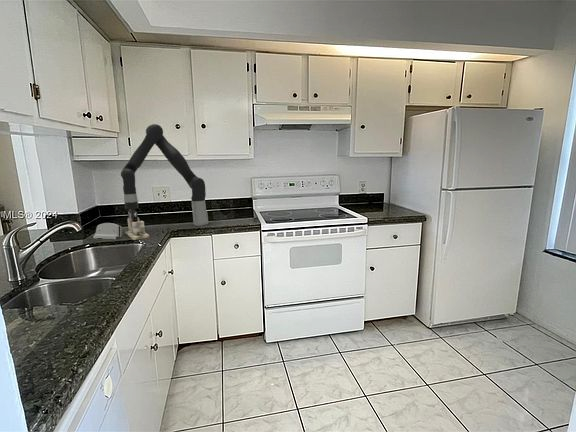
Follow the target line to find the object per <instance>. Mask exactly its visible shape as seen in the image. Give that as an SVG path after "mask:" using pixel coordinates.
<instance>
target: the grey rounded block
mask: <svg viewBox="0 0 576 432" xmlns="http://www.w3.org/2000/svg"><path fill="white" fill-rule="evenodd" d="M122 228H123V227H122V226H121V225H119V224H117V223H111V222H103V223H99V224H98V225H96V228H95V234H94V235H93V237H92V238H93V239H97V238H102V239H101V240H116V239H117V238H122Z"/></svg>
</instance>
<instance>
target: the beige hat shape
mask: <svg viewBox="0 0 576 432" xmlns="http://www.w3.org/2000/svg"><path fill="white" fill-rule="evenodd" d="M132 229H133V231H132V232H130V231H129V230H128V231H125V233H124V234H125V235H126V236H128V237H129V238H131V240H133V241H135V240H140V239H142V240H143V239H147V238H150V234H149V233H147V232H146V229H145V221H143V220H139V221H138V222H132Z"/></svg>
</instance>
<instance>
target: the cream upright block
mask: <svg viewBox="0 0 576 432" xmlns="http://www.w3.org/2000/svg"><path fill="white" fill-rule="evenodd" d="M134 220H135V219H134ZM138 221H140V218H139V217H138ZM127 225H128V231H130V232H132V231H133V229H132V219H131V218H129V217H128V218H127Z"/></svg>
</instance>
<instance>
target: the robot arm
mask: <svg viewBox="0 0 576 432" xmlns="http://www.w3.org/2000/svg"><path fill="white" fill-rule="evenodd" d="M145 133H146V134H145V137H144V139H143V140H142V142H141V143H140V144H139V146H138V147H137V148H136V150H135V151H134V152H133V154H132V155H131V156H130V158H129V160H128V162H127V163H126V164H125V166H124V167H123V168H122V169H121V172H120V177H121V179H122V182H123V187H122V190H123V202H124V209H125V210H128V211H127V213H128V218H131V219H132V222H138V218H139V217H138V215H139V214H138V212H137V211H136V209H138V208H139V200H138V196H137V188H136V172H137V170H138V169H139V168H140V167H141V166H142V164H143V163H144V161H146V158H147V156H148V154H149V153H150V151H151V150H152V148H153V147H154V145H155V146H156V147H157V148H158V149H159V151H161V153H162V154H163V155H164V157H165V158H166V160H167V161H168V162H169V163H170V165H171V166H172V167H173V168H174V169H175V170H176V171H177V172H178V173H179V174H180V175H181V177H182V178H183V179H184V180H185V182H186V183H187V185H188V186H189V188H190V189H191V197H190V198H191V208H192V209H191V210H192V219H193V226H197V227H198V226H199V227H201V226H207V225H209V215H208V211H207V205H206V193H207V192H206V182H205V180H204V179H203V178H201V177H198V176H197V175H196V174H195V173H194V171H192V169H191V167H190V166H189V163H188V161H187V160H186V159H185V157H184V156H183V154H182V153H181V152H180V151H179V150H178V149H177V148H176V147H175V146H174V145H172V143H170V142H169V141H168V140H167V138H166V137H165V136H164V129H163V128H162V126H161V125H159V124H157V123H156V124H155V123H153V124H150V125H148V126H147V127H146V129H145ZM134 219H135V220H134Z"/></svg>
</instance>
